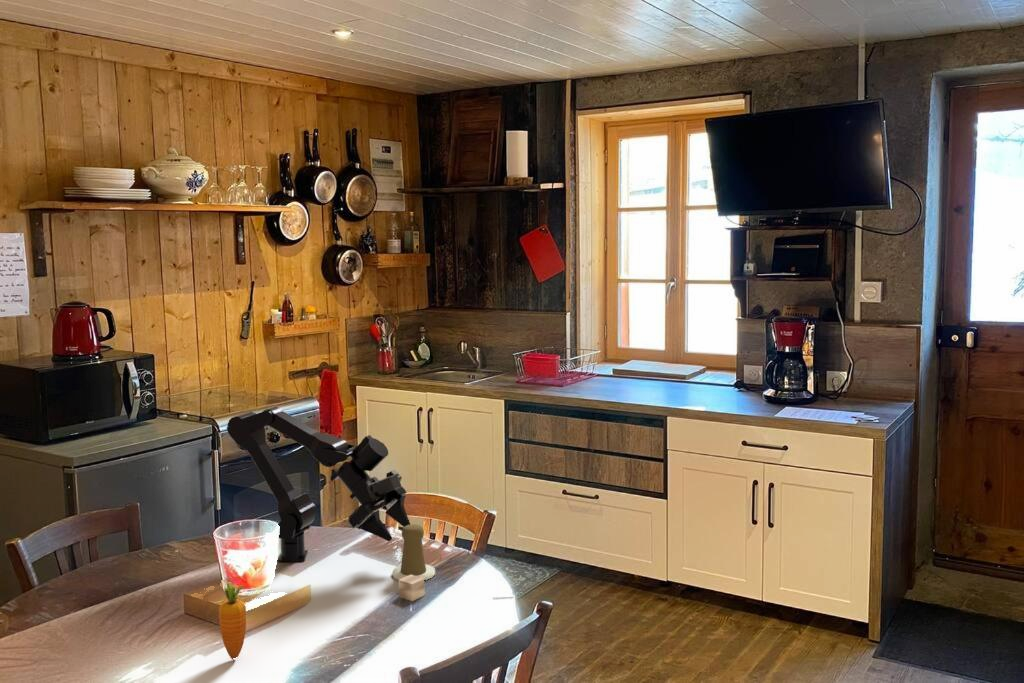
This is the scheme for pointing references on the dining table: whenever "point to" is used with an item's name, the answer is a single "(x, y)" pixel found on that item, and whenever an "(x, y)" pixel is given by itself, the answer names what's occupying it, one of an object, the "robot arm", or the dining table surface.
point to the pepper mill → (413, 551)
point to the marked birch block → (411, 587)
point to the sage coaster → (427, 575)
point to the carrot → (232, 621)
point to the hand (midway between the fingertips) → (400, 533)
